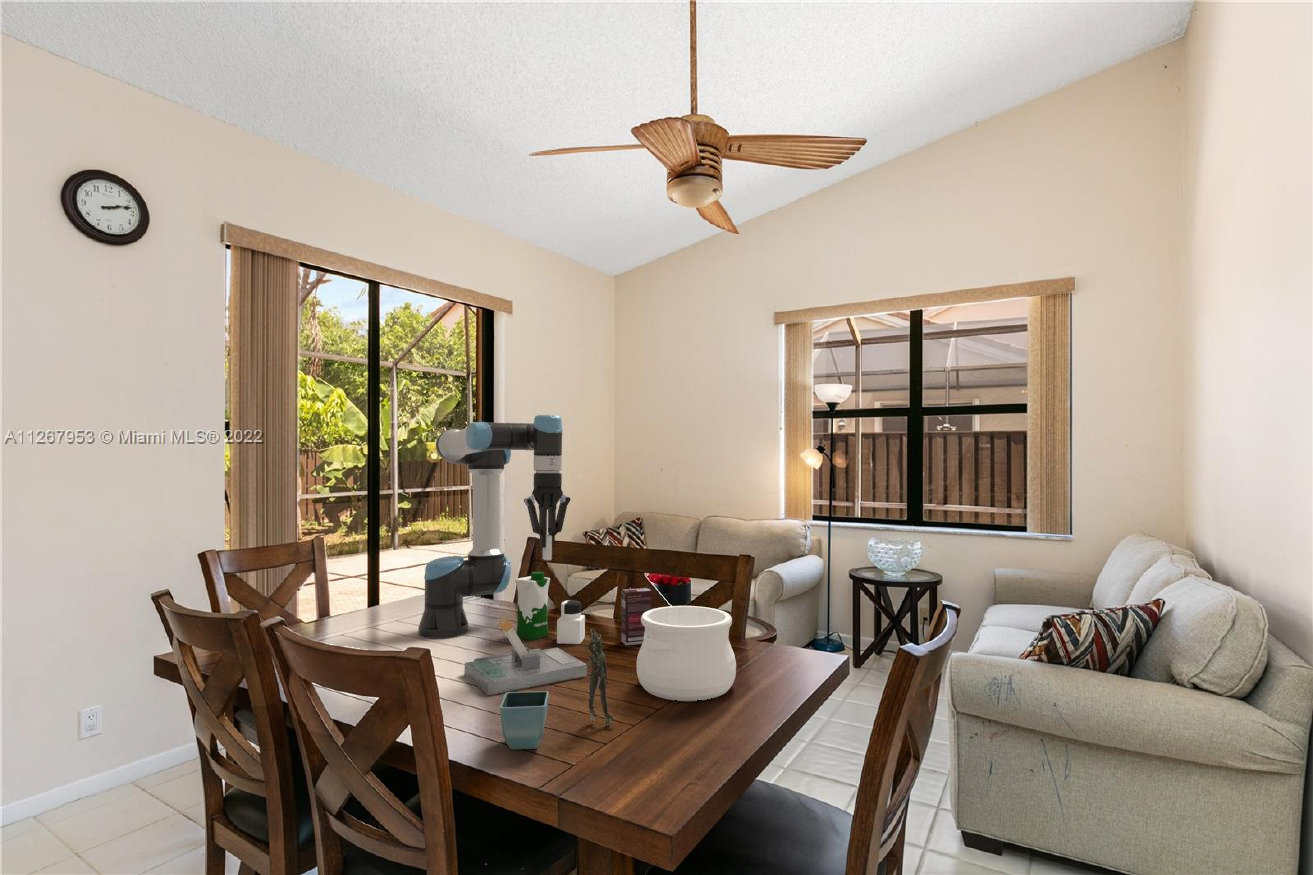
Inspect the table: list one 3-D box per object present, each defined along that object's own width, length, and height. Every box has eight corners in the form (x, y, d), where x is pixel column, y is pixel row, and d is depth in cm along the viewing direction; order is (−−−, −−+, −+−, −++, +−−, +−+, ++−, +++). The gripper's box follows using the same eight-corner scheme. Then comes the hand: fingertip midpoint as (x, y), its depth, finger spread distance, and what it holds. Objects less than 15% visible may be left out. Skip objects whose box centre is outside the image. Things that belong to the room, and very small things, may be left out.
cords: (468, 668, 183) (468, 658, 183) (540, 656, 194) (541, 646, 194) (473, 673, 179) (473, 662, 179) (547, 660, 190) (547, 650, 190)
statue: (607, 733, 142) (607, 635, 142) (582, 726, 145) (582, 631, 145) (619, 725, 146) (620, 629, 146) (594, 719, 149) (595, 626, 149)
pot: (686, 664, 187) (686, 599, 188) (758, 687, 170) (758, 615, 170) (613, 687, 169) (613, 615, 169) (686, 715, 152) (686, 635, 152)
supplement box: (647, 639, 212) (647, 587, 213) (652, 643, 208) (652, 590, 208) (620, 641, 209) (620, 589, 210) (625, 645, 205) (625, 592, 205)
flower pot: (504, 736, 140) (505, 691, 140) (548, 734, 141) (549, 690, 141) (498, 755, 131) (499, 707, 132) (545, 753, 132) (545, 706, 132)
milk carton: (532, 641, 209) (532, 575, 209) (511, 637, 214) (512, 572, 214) (552, 635, 216) (553, 571, 216) (532, 631, 221) (532, 568, 221)
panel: (464, 674, 178) (464, 651, 178) (557, 658, 192) (557, 636, 192) (488, 695, 163) (488, 670, 163) (586, 676, 177) (586, 652, 177)
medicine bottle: (585, 638, 213) (585, 599, 213) (580, 644, 206) (580, 604, 206) (562, 637, 214) (562, 598, 214) (556, 643, 207) (556, 603, 207)
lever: (521, 660, 179) (496, 621, 176) (527, 655, 180) (503, 616, 177) (527, 664, 176) (502, 625, 172) (533, 659, 177) (508, 620, 173)
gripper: (530, 472, 180) (529, 563, 180) (575, 472, 187) (575, 559, 187) (519, 472, 187) (519, 559, 186) (563, 471, 194) (563, 555, 193)
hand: (547, 559), depth 187 cm, fingers closed
